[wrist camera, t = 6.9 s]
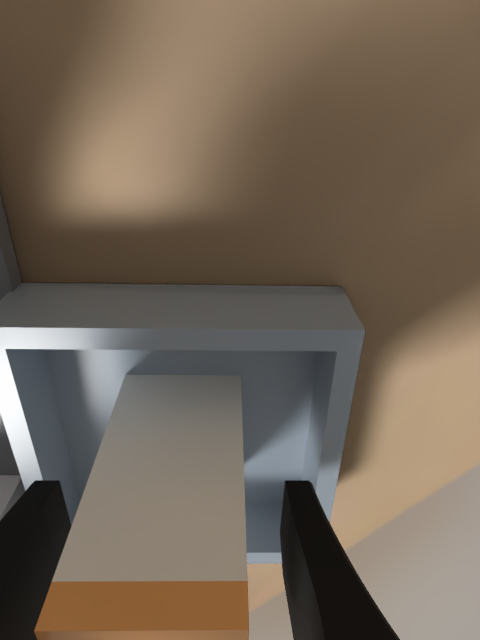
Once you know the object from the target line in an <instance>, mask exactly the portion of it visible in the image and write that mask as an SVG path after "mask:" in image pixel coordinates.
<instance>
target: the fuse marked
mask: <svg viewBox="0 0 480 640" xmlns="http://www.w3.org/2000/svg"><path fill="white" fill-rule="evenodd" d="M34 632H35V635H36V638H37V640H248V638H249V611H248V580H247V549H246V517H245V486H244V455H243V423H242V392H241V376H234V375H125V377H124V380H123V383H122V386H121V388H120V391H119V394H118V397H117V400H116V402H115V405H114V408H113V411H112V414H111V416H110V419H109V422H108V425H107V428H106V431H105V433H104V436H103V439H102V442H101V445H100V447H99V450H98V453H97V456H96V459H95V461H94V464H93V467H92V470H91V473H90V476H89V478H88V481H87V484H86V487H85V490H84V492H83V495H82V498H81V501H80V504H79V506H78V509H77V512H76V515H75V518H74V520H73V523H72V526H71V529H70V532H69V535H68V537H67V540H66V543H65V546H64V549H63V551H62V554H61V557H60V560H59V563H58V565H57V568H56V571H55V574H54V577H53V580H52V582H51V585H50V588H49V591H48V594H47V596H46V599H45V602H44V605H43V608H42V610H41V613H40V616H39V619H38V622H37V625H36V627H35V630H34Z"/></svg>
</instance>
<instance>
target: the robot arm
mask: <svg viewBox="0 0 480 640" xmlns="http://www.w3.org/2000/svg"><path fill="white" fill-rule="evenodd" d="M70 529H71V522H70V518H69V514H68V511H67V507H66V503H65V499H64V495H63V491H62V488H61V484H60V480H35V481H34V482H33V483H32V484H31V485H30V486H29V488H28V489H27V490H26V491H25V492H24V493H23V495H22V496H21V497H20V498H19V499H18V500H17V502H16V503H15V504H14V505H13V506H12V507H11V509H10V510H9V511H8V512H7V513H6V514H5V516H4V517H3V518H2V519H1V520H0V640H37V638H36V635H35V632H34V630H35V627H36V625H37V622H38V619H39V616H40V613H41V610H42V608H43V605H44V602H45V599H46V596H47V594H48V591H49V588H50V585H51V582H52V580H53V577H54V574H55V571H56V568H57V565H58V563H59V560H60V557H61V554H62V551H63V549H64V546H65V543H66V540H67V537H68V535H69V532H70ZM280 542H281V556H282V569H283V577H284V584H285V590H286V596H287V601H288V608H289V614H290V619H291V626H292V632H293V638H294V640H400V639H399V638H398V636H397V635H396V633H395V632H394V630H393V629H392V628H391V626H390V625H389V623H388V622H387V620H386V619H385V617H384V616H383V614H382V613H381V611H380V610H379V608H378V606H377V605H376V603H375V602H374V600H373V599H372V597H371V595H370V594H369V592H368V591H367V589H366V587H365V586H364V584H363V583H362V581H361V579H360V578H359V576H358V574H357V573H356V571H355V569H354V567H353V565H352V564H351V562H350V560H349V558H348V557H347V555H346V553H345V551H344V549H343V548H342V546H341V544H340V542H339V540H338V538H337V536H336V535H335V533H334V531H333V529H332V527H331V525H330V523H329V521H328V519H327V517H326V515H325V512H324V510H323V508H322V506H321V504H320V501H319V499H318V497H317V494H316V492H315V490H314V487H313V484H312V483H311V482H310V481H309V480H285V485H284V495H283V505H282V514H281V524H280Z"/></svg>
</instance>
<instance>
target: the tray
mask: <svg viewBox="0 0 480 640" xmlns="http://www.w3.org/2000/svg"><path fill="white" fill-rule="evenodd" d="M364 335H365V329H364V327H363V325H362V323H361V321H360V319H359V318H358V316H357V314H356V312H355V310H354V308H353V306H352V304H351V302H350V300H349V299H348V297H347V295H346V293H345V291H344V289H343V287H342V286H266V285H178V284H90V283H21V284H20V285H19V286H18V287H17V288H16V289H15V290H14V291H13V292H8V293H7V294H6V295H5V296H4V297H3V298H2V299H1V300H0V413H1V417H2V420H3V423H4V426H5V429H6V432H7V435H8V438H9V441H10V444H11V448H12V451H13V454H14V457H15V460H16V463H17V466H18V469H19V472H20V476H21V479H22V482H23V485H24V488H25V491H26V490H27V489H28V488H29V486H30V485H31V484H32V483H33V482H34V481H35V480H60V484H61V488H62V491H63V495H64V499H65V503H66V507H67V511H68V514H69V518H70V522H71V526H72V523H73V520H74V518H75V515H76V512H77V509H78V506H79V504H80V501H81V498H82V495H83V492H84V490H85V487H86V484H87V481H88V478H89V476H90V473H91V470H92V467H93V464H94V461H95V459H96V456H97V453H98V450H99V447H100V445H101V442H102V439H103V436H104V433H105V431H106V428H107V425H108V422H109V419H110V416H111V414H112V411H113V408H114V405H115V402H116V400H117V397H118V394H119V391H120V388H121V386H122V383H123V380H124V377H125V375H234V376H241V392H242V423H243V455H244V486H245V517H246V549H247V564H258V563H282V556H281V542H280V524H281V514H282V505H283V495H284V485H285V480H309V481H310V482H311V483H312V484H313V487H314V490H315V492H316V494H317V497H318V499H319V501H320V504H321V506H322V508H323V510H324V512H325V515H326V517H327V519H328V521H329V523H330V518H331V513H332V507H333V502H334V496H335V491H336V486H337V480H338V475H339V470H340V464H341V459H342V453H343V448H344V443H345V437H346V432H347V427H348V421H349V416H350V410H351V405H352V400H353V394H354V389H355V384H356V378H357V373H358V367H359V362H360V357H361V351H362V346H363V341H364Z"/></svg>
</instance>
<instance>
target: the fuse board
mask: <svg viewBox="0 0 480 640" xmlns="http://www.w3.org/2000/svg"><path fill="white" fill-rule="evenodd" d="M21 283H22V280H21V276H20V272H19V268H18V264H17V260H16V256H15V251H14V247H13V243H12V239H11V235H10V231H9V227H8V223H7V219H6V215H5V210H4V206H3V202H2V198H1V194H0V300H1V299H2V298H3V297H4V296H5V295H6V294H7V293H8V292H13V291H14V290H15V289H16V288H17V287H18V286H19V285H20V284H21ZM24 492H25V488H24V485H23V482H22V479H21V476H20V472H19V469H18V466H17V463H16V460H15V457H14V454H13V451H12V448H11V444H10V441H9V438H8V435H7V432H6V429H5V426H4V423H3V420H2V417H1V413H0V520H1V519H2V518H3V517H4V516H5V514H6V513H7V512H8V511H9V510H10V509H11V507H12V506H13V505H14V504H15V503H16V502H17V500H18V499H19V498H20V497H21V496H22V495H23V493H24Z"/></svg>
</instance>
